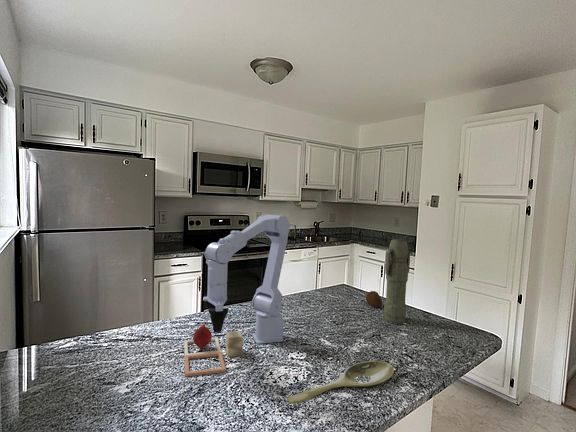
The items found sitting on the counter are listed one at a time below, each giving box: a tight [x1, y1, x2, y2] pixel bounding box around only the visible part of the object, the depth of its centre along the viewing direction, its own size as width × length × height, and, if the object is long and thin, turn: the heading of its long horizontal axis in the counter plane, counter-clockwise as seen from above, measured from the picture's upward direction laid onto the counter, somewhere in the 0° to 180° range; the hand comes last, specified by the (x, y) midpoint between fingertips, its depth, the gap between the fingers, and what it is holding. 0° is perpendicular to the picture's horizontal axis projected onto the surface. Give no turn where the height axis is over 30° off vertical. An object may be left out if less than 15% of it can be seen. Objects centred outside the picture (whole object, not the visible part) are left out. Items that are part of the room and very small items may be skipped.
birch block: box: [225, 330, 244, 358], centre depth 105 cm, size 4×4×6 cm
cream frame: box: [183, 337, 222, 356], centre depth 107 cm, size 11×11×1 cm
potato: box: [365, 290, 383, 308], centre depth 161 cm, size 7×10×7 cm
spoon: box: [287, 360, 395, 405], centre depth 89 cm, size 35×11×2 cm, turn 120°
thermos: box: [383, 238, 411, 325], centre depth 141 cm, size 9×12×35 cm
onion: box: [192, 323, 213, 349], centre depth 107 cm, size 6×6×8 cm
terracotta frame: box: [184, 351, 227, 378], centre depth 97 cm, size 11×11×1 cm
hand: (216, 326), depth 100 cm, fingers open, 7 cm apart
